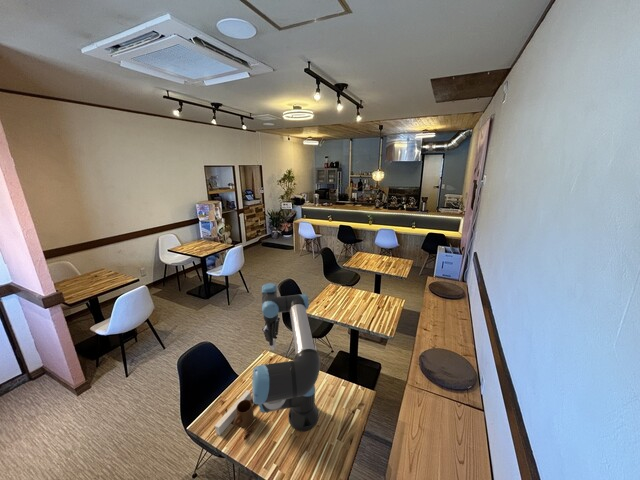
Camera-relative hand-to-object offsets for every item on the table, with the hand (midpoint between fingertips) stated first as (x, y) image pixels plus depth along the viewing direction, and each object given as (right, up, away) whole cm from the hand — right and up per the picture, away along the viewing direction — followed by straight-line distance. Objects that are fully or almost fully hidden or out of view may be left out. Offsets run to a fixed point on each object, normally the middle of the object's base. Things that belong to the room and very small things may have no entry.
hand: (272, 348), depth 142 cm
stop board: (-17, -29, -11) cm, 36 cm away
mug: (-12, -31, -16) cm, 36 cm away
